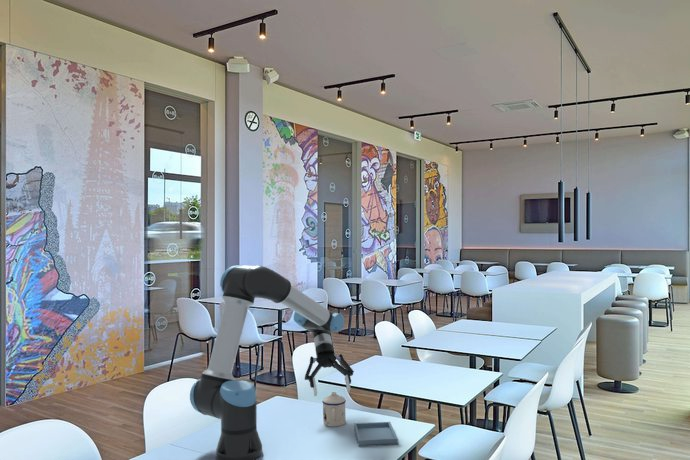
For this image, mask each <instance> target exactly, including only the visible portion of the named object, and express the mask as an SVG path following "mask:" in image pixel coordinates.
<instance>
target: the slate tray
mask: <svg viewBox="0 0 690 460" xmlns="http://www.w3.org/2000/svg"><path fill="white" fill-rule="evenodd" d="M353 427H354V428H353V429H354V433H355V438H356V442H357V445H358V447H374V446H393V445H398V444H399V443H398V442H399V441H398V440H399V438H398V437H397V434H396V431H395V430H394V428H393V425H392V423H391V421H379V422H378V421H377V422H357V423H353Z"/></svg>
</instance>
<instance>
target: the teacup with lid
mask: <svg viewBox="0 0 690 460" xmlns="http://www.w3.org/2000/svg"><path fill="white" fill-rule="evenodd" d="M346 401H347V400H346V398H345V397H344V396H341V395H339V394H337V392H335V391H333V392H331V394H330V395H328V396H325V397H324V398H322V412H323V419H322V422H323V424H324V426H326V427H340V426H343V425H345V424H346V421H347V420H346V418H347V417H346Z"/></svg>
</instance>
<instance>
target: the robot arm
mask: <svg viewBox="0 0 690 460" xmlns="http://www.w3.org/2000/svg"><path fill="white" fill-rule="evenodd" d="M219 286H220V287H221V289H220V290H221V291H222V293H223V294H222V300H223V301H224V307H223V310H222V315H221V318H220V320H219V325H218V328H217V329H218V330H217V333H216V337H215V341H214V344H213V348H212V352H211V355H210V359H209V362H208V366H207V369H205V370H204V371H202V372H201V377H200V378H199V379H197V380H196V381H195V382H194V383H192V387H191V389H190V392H189V400H190V401H189V402H190V404H191V406H192V408H193V409H194V410H195V411H196V412H197V413H200V414H202V415H204V416H210V417H213V418H215V419H218V420H220V436H219V439H218V443H217V446H216V450H215V455H216V456H215V457H216V459H217V460H257V459H258V458H260V457H261V456H262V454H263V444H262V441H261V438H260V435H259V432H258V427H257V424H258V423H257V401H258V400H257V392H256V391H257V389H256V387H255V386H254V385H253V384H252V383H251V382H250V381H245V380H241V379H240V380H238V379H235V377H234V375H233V371H234V370H233V369H234V366H235V361H236V358H237V355H238V354H237V353H238V349H239V347H240V346H239V345H240V342H241V339H242V334H243V329H244V326H245V322H246V318H247V315H248V310H249V308H250V307H252V306H253V305H254V302H255V299H264V300H268V301H272V302H273V303H275V304H282V305H283V306H285V307H287V308H288V309H290V310H291V311H294V313H293V321H294V322H295V323H296V324H297V325H298V326H300V327H301V328H304V329H305V330H306V331H308V332H309V333H312V337H313V342H314V349H315V356H316V357H314V356H310V358H309V364H308V366H307V370H306V372H305V374H304V380H305V381H308V382H309V386H310V388H312V390H313V394H314V396H313V397H317V394H318V388H317V384H316V382H317V381H316V375H317V374H318V373H319V371H320V370H321V369H322V368H324V369H325V368H331V367H332V368H333V369H335V370H337V371H338V372H339V373H340V374H342V375H343V376H344V382H345V387H346V393H348V394H349V393H351V390H352V389H351V384H352V378H351V377H352V376H353V375H354V372H355V371H354V370H353V368H352V367H351V366H350V365H349V364H348V362H347V360H345V359H344V357H343V353H339V355H337V356H336V355H335V350H334V345H333V341H332V335H331V333H333V332H335V333H339V332H341V331H342V330H343V329H344V326H345V318H344V315H342V313H340V312H339V313H338V312H332V311H331V310H329V309H327V308H326V307H324V306H323V305H321V304H320V303H318V302H317V301H315V300H314V299H313V298H311V297H309V296H308V295H307V294H305V293H304V292H302V291H301V290H299V289H297V288H296V287H295V286H293V285H292V283H291V281H290V280H289V279H288V278H286V277H284V276H283V275H281V274H280V273H278V272H276V271H274V270H273V269H271V268H268V267H266V266H263V265H247V264H246V265H244V264H238V265H232V266H230V267H228V268H227V269H226V270H224V272H223V273H222V274H221V278H220V282H219ZM315 363H317V366H316V367H315V368H314V370H313V371H312V368H313V365H314V364H315ZM339 363H340V364H339ZM311 371H312V373H311ZM310 373H311V374H310Z"/></svg>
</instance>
